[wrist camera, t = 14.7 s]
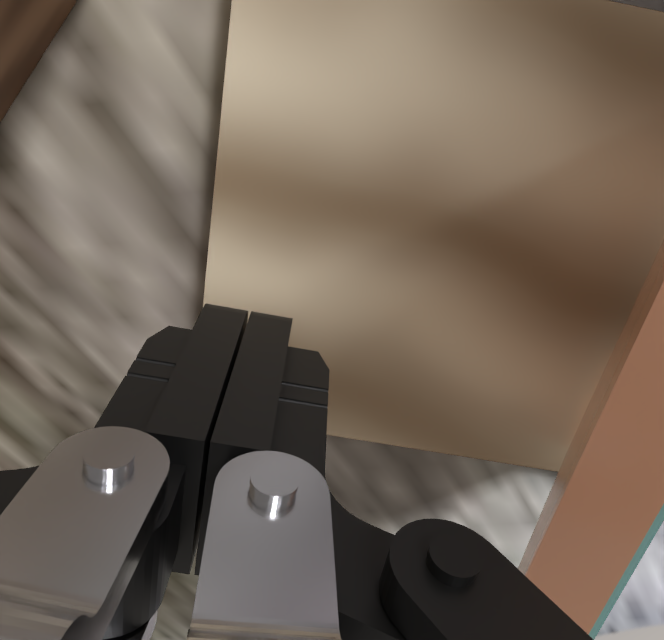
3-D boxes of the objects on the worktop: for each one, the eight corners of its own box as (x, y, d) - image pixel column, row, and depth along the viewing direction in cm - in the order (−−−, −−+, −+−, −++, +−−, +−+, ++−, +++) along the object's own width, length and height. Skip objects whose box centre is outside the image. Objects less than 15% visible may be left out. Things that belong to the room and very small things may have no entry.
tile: (427, 783, 11) (488, 829, 10) (764, 64, 5) (925, 94, 5) (566, 454, 20) (601, 470, 20) (738, 75, 15) (791, 86, 15)
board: (248, -71, 15) (239, -78, 14) (1176, 125, 17) (1247, 135, 16) (201, 388, 22) (192, 413, 20) (881, 498, 23) (914, 528, 22)
